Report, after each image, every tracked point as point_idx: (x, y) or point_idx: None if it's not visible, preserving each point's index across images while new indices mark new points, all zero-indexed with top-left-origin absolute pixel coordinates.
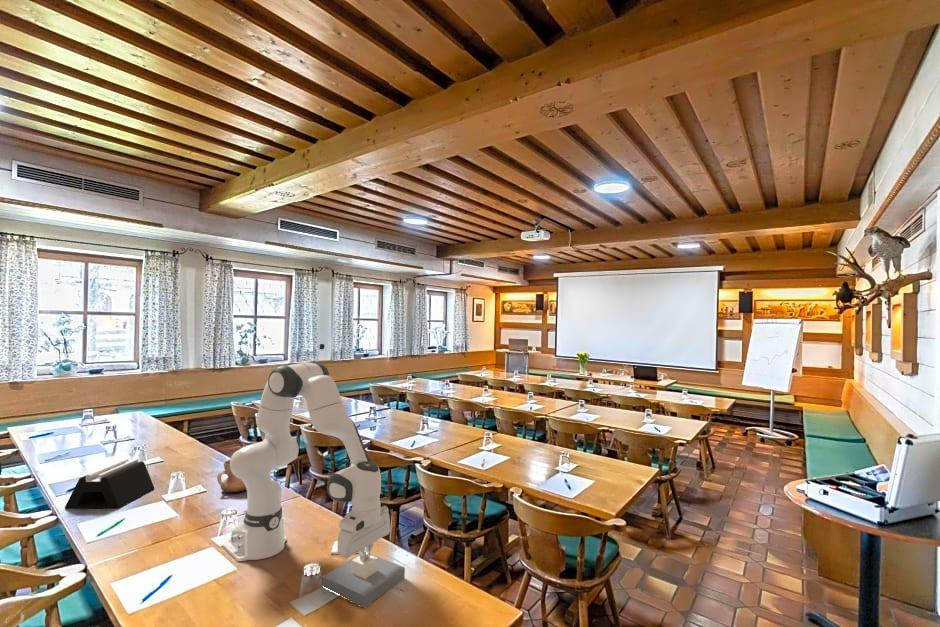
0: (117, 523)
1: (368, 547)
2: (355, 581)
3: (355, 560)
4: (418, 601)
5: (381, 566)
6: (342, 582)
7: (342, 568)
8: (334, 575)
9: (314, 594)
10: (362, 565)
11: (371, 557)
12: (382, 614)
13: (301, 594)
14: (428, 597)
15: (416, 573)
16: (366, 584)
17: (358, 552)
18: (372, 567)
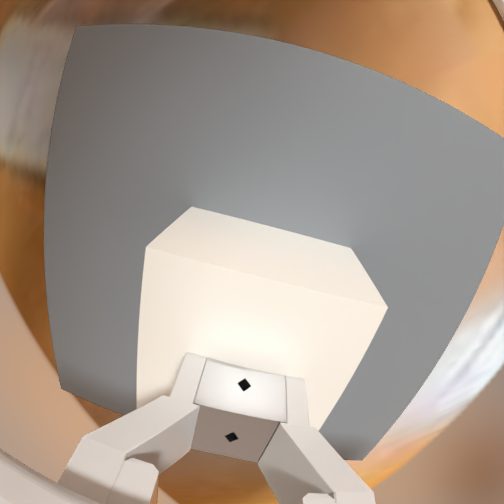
0: None
1: (297, 491)
2: (114, 298)
3: (161, 299)
4: (220, 477)
5: (355, 377)
6: (64, 217)
7: (231, 81)
8: (110, 91)
9: (62, 56)
10: (138, 388)
11: None
12: (104, 413)
13: (52, 6)
14: (252, 489)
15: (393, 434)
16: (128, 371)
17: (123, 418)
18: None
